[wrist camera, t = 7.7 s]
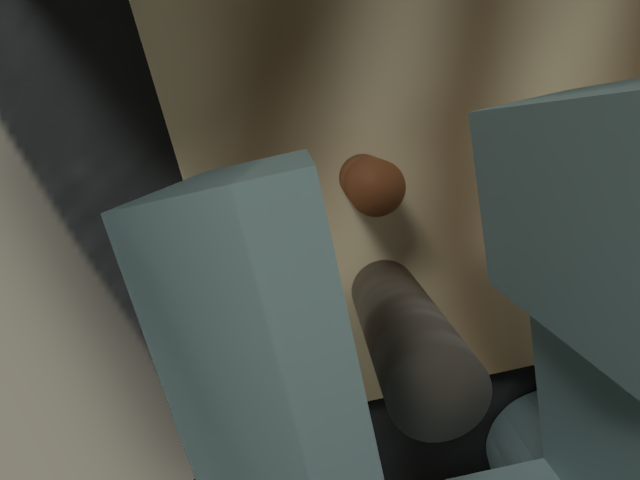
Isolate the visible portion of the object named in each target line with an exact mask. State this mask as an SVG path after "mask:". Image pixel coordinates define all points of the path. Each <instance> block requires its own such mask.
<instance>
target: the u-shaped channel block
mask: <svg viewBox="0 0 640 480" xmlns="http://www.w3.org/2000/svg"><path fill="white" fill-rule="evenodd" d="M468 116H469V125H470V133H471V141H472V149H473V157H474V165H475V173H476V181H477V190H478V198H479V206H480V214H481V222H482V230H483V238H484V246H485V254H486V263H487V271H488V279H489V284H491V285H492V286H493V287H494V288H496V289H497V290H498V291H499V292H501V293H502V294H503V295H505V296H506V297H507V298H508V299H510V300H511V301H512V302H514V303H515V304H516V305H517V306H519V307H520V308H521V309H522V310H524V311H525V312H526V313H528V314H529V315H530V325H531V335H532V346H533V356H534V366H535V376H536V386H537V396H538V406H539V416H540V426H541V436H542V446H543V456H544V458H541V459H536V460H532V461H527V462H523V463H518V464H514V465H509V466H505V467H500V468H495V469H491V470H486V471H482V472H477V473H473V474H468V475H464V476H459V477H455V478H450V479H446V480H640V78H636V79H630V80H623V81H617V82H611V83H605V84H599V85H593V86H587V87H581V88H575V89H569V90H565V91H560V92H556V93H551V94H547V95H542V96H538V97H534V98H529V99H525V100H520V101H516V102H511V103H507V104H502V105H498V106H494V107H489V108H485V109H480V110H476V111H471V112H468ZM101 217H102V220H103V222H104V225H105V228H106V231H107V234H108V236H109V239H110V242H111V245H112V248H113V250H114V253H115V256H116V259H117V262H118V264H119V267H120V270H121V273H122V276H123V278H124V281H125V284H126V287H127V290H128V292H129V295H130V298H131V301H132V304H133V306H134V309H135V312H136V315H137V318H138V320H139V323H140V326H141V329H142V332H143V335H144V337H145V340H146V343H147V346H148V349H149V351H150V354H151V357H152V360H153V363H154V365H155V368H156V371H157V374H158V377H159V379H160V382H161V385H162V388H163V390H164V393H165V396H166V399H167V402H168V405H169V407H170V410H171V413H172V416H173V419H174V421H175V424H176V427H177V430H178V433H179V435H180V438H181V441H182V444H183V447H184V450H185V452H186V455H187V458H188V461H189V464H190V466H191V469H192V472H193V475H194V477H195V480H384V476H383V471H382V467H381V462H380V458H379V453H378V448H377V444H376V439H375V435H374V430H373V425H372V421H371V416H370V412H369V407H368V402H367V398H366V393H365V389H364V384H363V379H362V375H361V370H360V366H359V361H358V357H357V352H356V347H355V343H354V338H353V334H352V329H351V324H350V320H349V315H348V311H347V306H346V301H345V297H344V292H343V288H342V283H341V278H340V274H339V269H338V265H337V260H336V256H335V251H334V246H333V242H332V237H331V233H330V228H329V223H328V219H327V214H326V210H325V205H324V200H323V196H322V191H321V187H320V182H319V177H318V173H317V168H316V165H315V163H314V161H313V159H312V157H311V156H310V154H309V152H308V150H307V149H303V150H298V151H294V152H289V153H285V154H280V155H276V156H271V157H267V158H263V159H258V160H254V161H249V162H245V163H240V164H236V165H232V166H227V167H223V168H218V169H214V170H209V171H205V172H203V173H200V174H198V175H195V176H193V177H190V178H188V179H185V180H183V181H180V182H178V183H175V184H173V185H170V186H168V187H165V188H163V189H160V190H158V191H155V192H153V193H150V194H148V195H145V196H143V197H140V198H138V199H135V200H133V201H130V202H128V203H126V204H123V205H121V206H118V207H116V208H113V209H111V210H108V211H106V212H103V213H101Z"/></svg>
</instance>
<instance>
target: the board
mask: <svg viewBox="0 0 640 480" xmlns="http://www.w3.org/2000/svg"><path fill="white" fill-rule="evenodd" d="M129 3H130V6H131V9H132V13H133V16H134V19H135V23H136V26H137V29H138V33H139V36H140V39H141V42H142V46H143V49H144V52H145V56H146V59H147V62H148V66H149V69H150V72H151V76H152V79H153V82H154V86H155V89H156V92H157V96H158V99H159V102H160V106H161V109H162V112H163V116H164V119H165V122H166V125H167V129H168V132H169V135H170V139H171V142H172V145H173V149H174V152H175V155H176V159H177V162H178V165H179V169H180V172H181V175H182V179H183V180H185V179H188V178H190V177H193V176H195V175H198V174H200V173H203V172H205V171H209V170H214V169H218V168H223V167H227V166H232V165H236V164H240V163H245V162H249V161H254V160H258V159H263V158H267V157H271V156H276V155H280V154H285V153H289V152H294V151H298V150H303V149H307V150H308V152H309V154H310V156H311V157H312V159H313V161H314V163H315V165H316V168H317V173H318V177H319V182H320V187H321V191H322V196H323V200H324V205H325V210H326V214H327V219H328V223H329V228H330V233H331V237H332V242H333V246H334V251H335V256H336V260H337V265H338V269H339V274H340V278H341V283H342V288H343V292H344V297H345V301H346V306H347V311H348V315H349V320H350V324H351V329H352V334H353V338H354V343H355V347H356V352H357V357H358V361H359V366H360V370H361V375H362V379H363V384H364V389H365V393H366V398H367V401H371V400H376V399H381V398H384V402H385V405H386V408H387V411H388V414H389V417H390V419H391V421H392V422H393V424H394V425H395V426H396V427H397V428H398V429H399V430H400V431H401V432H402V433H403V434H405V435H407V436H408V437H410V438H412V439H415V440H418V441H422V442H429V443H439V442H446V441H450V440H454V439H456V438H459V437H461V436H463V435H465V434H466V433H468V432H469V431H471V430H472V429H473V428H474V427H476V426H477V425H478V424H479V422H480V421H481V420H482V419H483V417H484V416H485V414H486V413H487V411H488V409H489V406H490V403H491V399H492V383H491V379H490V376H489V375H490V374H495V373H499V372H504V371H509V370H513V369H518V368H522V367H527V366H531V365H534V356H533V346H532V335H531V325H530V315H529V314H528V313H526V312H525V311H524V310H522V309H521V308H520V307H519V306H517V305H516V304H515V303H514V302H512V301H511V300H510V299H508V298H507V297H506V296H505V295H503V294H502V293H501V292H499V291H498V290H497V289H496V288H494V287H493V286H492V285H491V284H489V279H488V271H487V263H486V254H485V246H484V238H483V230H482V222H481V214H480V206H479V198H478V190H477V181H476V173H475V165H474V157H473V149H472V141H471V133H470V125H469V116H468V112H471V111H476V110H480V109H485V108H489V107H494V106H498V105H502V104H507V103H511V102H516V101H520V100H525V99H529V98H534V97H538V96H542V95H547V94H551V93H556V92H560V91H565V90H569V89H575V88H581V87H587V86H593V85H599V84H605V83H611V82H617V81H623V80H630V79H636V78H640V0H129Z"/></svg>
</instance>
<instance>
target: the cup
mask: <svg viewBox="0 0 640 480" xmlns="http://www.w3.org/2000/svg"><path fill="white" fill-rule="evenodd" d="M486 452H487V458H488V461H489V465H490V468H491V469H495V468H500V467H505V466H509V465H514V464H518V463H523V462H527V461H532V460H536V459H541V458H544V456H543V446H542V436H541V426H540V416H539V406H538V396H537V391H533V392H531V393H528V394H526V395H524V396H522V397H520V398H518V399H516V400H515V401H513V402H512V403H510V404H509V405H508V406H507V407H506V408H505V409H504V410H503V411H502V412H501V413H500V414H499V415H498V416H497V417H496V419H495V420H494V422H493V424H492V426H491V428H490V431H489V434H488V437H487V441H486Z"/></svg>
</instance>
